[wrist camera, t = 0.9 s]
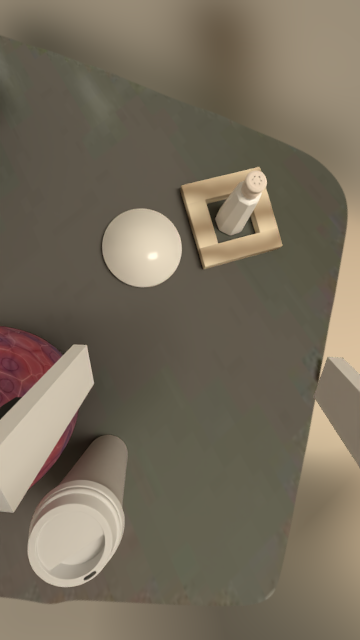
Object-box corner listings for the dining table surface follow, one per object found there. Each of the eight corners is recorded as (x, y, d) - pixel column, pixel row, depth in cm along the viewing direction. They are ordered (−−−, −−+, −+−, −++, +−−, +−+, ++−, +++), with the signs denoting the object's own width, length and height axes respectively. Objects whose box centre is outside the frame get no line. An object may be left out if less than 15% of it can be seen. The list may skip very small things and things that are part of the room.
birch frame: (180, 191, 38) (181, 185, 37) (255, 173, 40) (259, 166, 38) (203, 269, 38) (205, 267, 37) (277, 248, 40) (282, 245, 38)
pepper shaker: (245, 206, 39) (278, 161, 28) (244, 237, 39) (277, 203, 28) (215, 204, 39) (236, 156, 28) (214, 234, 39) (235, 199, 28)
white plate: (93, 221, 37) (92, 219, 36) (169, 203, 38) (169, 200, 37) (116, 296, 37) (114, 296, 36) (190, 276, 38) (191, 275, 37)
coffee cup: (81, 489, 36) (25, 607, 21) (73, 431, 36) (11, 506, 21) (140, 477, 37) (127, 582, 22) (132, 420, 37) (113, 485, 22)
